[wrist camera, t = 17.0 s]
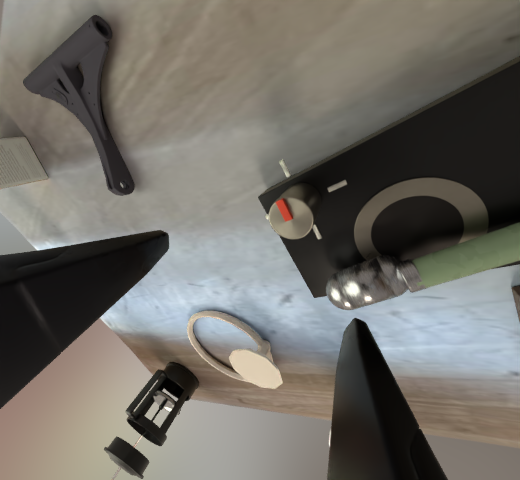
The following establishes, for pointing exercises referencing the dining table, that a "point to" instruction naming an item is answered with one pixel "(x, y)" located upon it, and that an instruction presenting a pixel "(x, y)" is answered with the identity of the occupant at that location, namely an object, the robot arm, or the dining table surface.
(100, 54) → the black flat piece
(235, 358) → the hand towel holder
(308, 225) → the burner knob
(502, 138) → the stove
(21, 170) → the small box
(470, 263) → the green handled ring tool
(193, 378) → the french press
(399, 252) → the burner
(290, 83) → the dining table surface
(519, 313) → the peg stand
